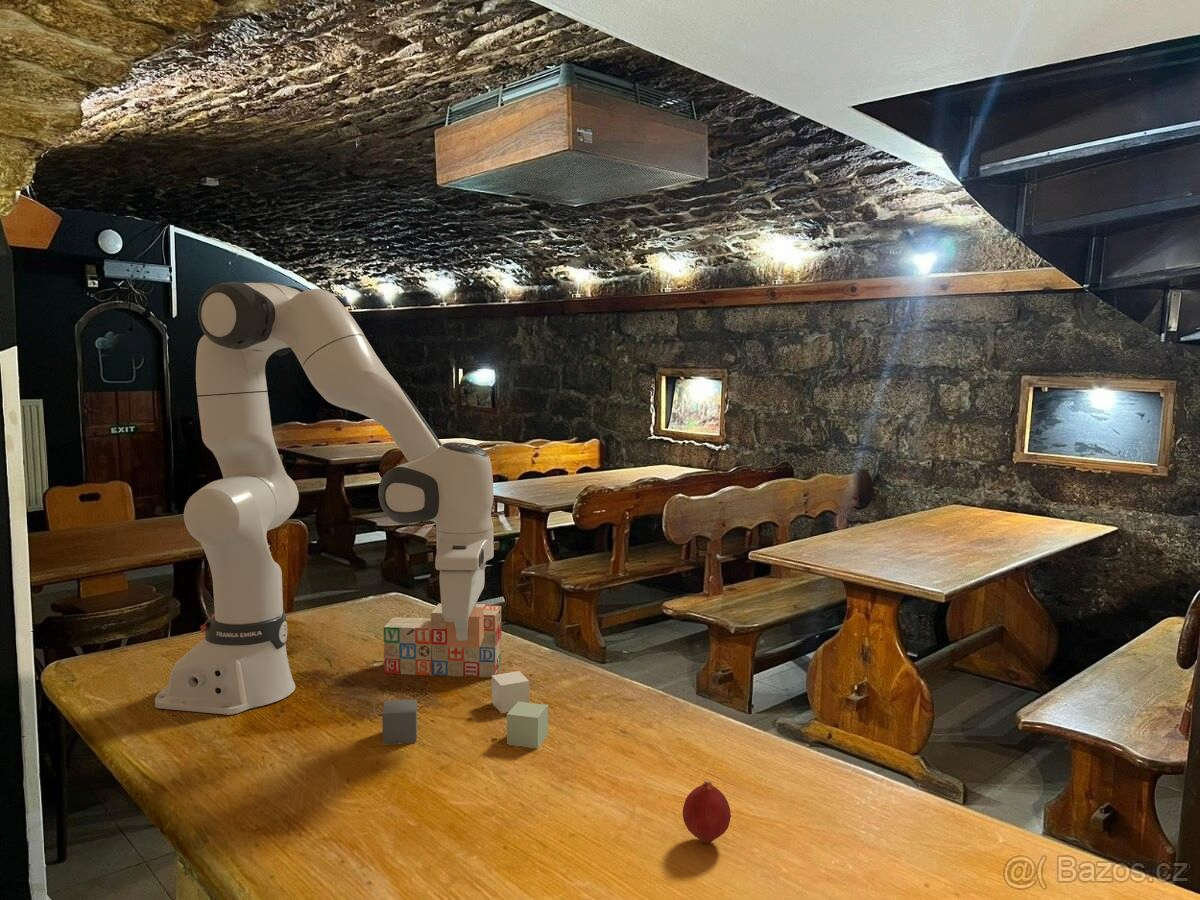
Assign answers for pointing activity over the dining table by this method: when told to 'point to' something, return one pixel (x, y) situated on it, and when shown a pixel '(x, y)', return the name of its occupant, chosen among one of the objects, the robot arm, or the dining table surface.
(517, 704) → the sage green cube
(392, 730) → the charcoal cube
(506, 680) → the off-white cube
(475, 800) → the dining table surface
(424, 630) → the stack of blocks
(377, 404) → the robot arm
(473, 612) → the terracotta cube
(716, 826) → the onion
